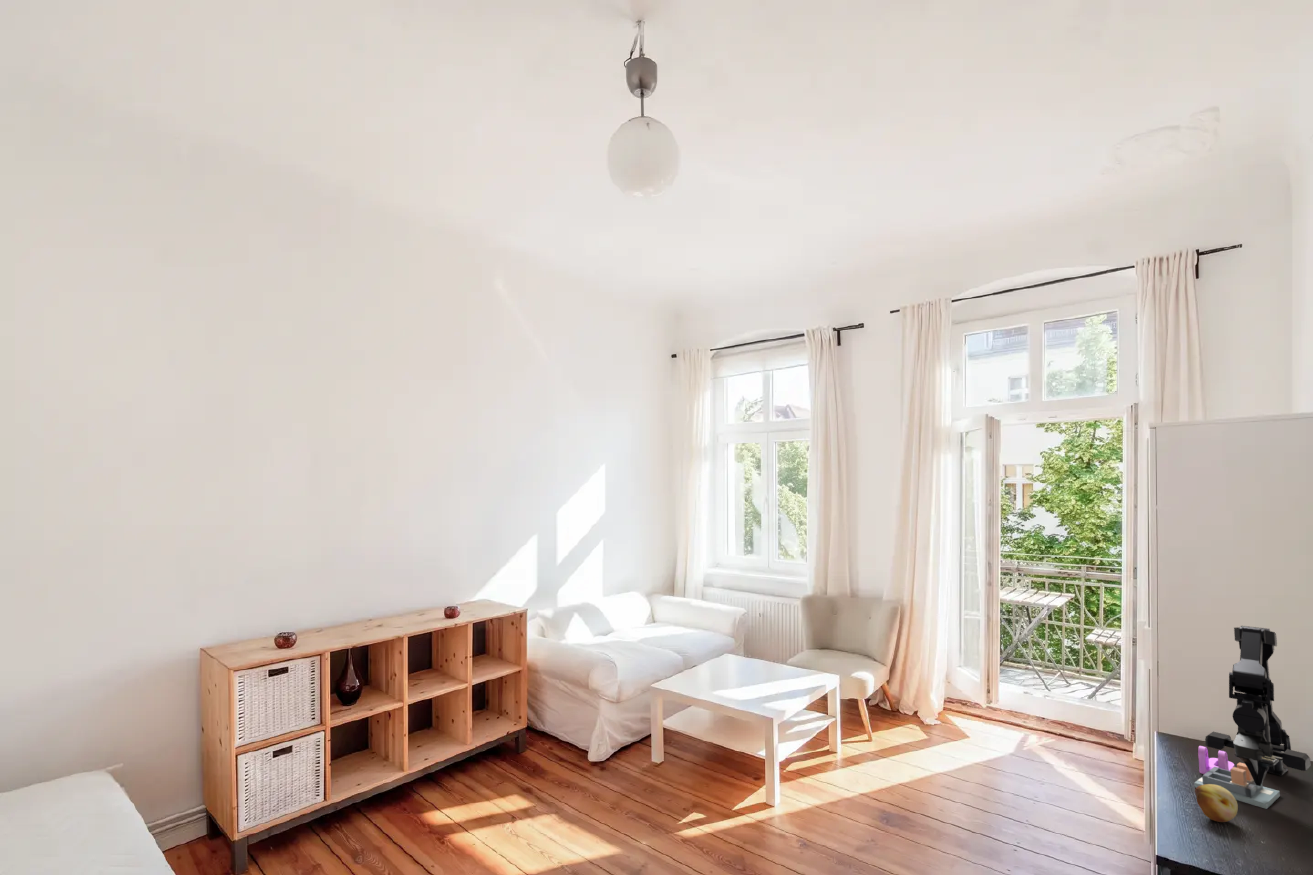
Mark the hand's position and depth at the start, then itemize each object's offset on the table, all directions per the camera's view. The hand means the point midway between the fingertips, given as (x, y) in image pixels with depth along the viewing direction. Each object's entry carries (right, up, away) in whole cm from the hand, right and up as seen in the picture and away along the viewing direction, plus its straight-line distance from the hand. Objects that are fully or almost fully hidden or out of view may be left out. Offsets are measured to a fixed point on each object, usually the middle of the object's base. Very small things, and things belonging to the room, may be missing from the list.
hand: (1258, 785), depth 158 cm
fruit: (-19, -3, -9) cm, 21 cm away
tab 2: (+2, -3, +6) cm, 7 cm away
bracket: (+6, -6, +18) cm, 20 cm away
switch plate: (-1, -5, +5) cm, 7 cm away
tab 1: (-2, -3, +3) cm, 5 cm away
